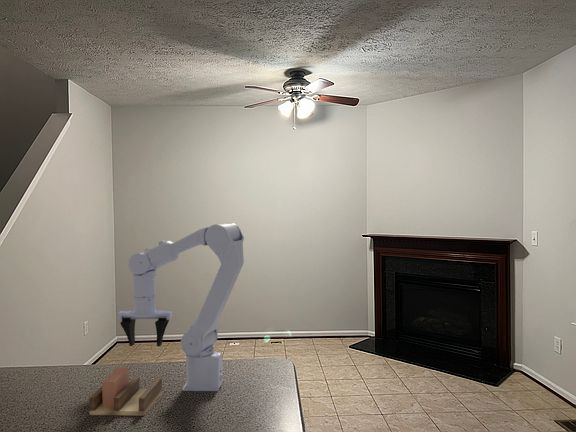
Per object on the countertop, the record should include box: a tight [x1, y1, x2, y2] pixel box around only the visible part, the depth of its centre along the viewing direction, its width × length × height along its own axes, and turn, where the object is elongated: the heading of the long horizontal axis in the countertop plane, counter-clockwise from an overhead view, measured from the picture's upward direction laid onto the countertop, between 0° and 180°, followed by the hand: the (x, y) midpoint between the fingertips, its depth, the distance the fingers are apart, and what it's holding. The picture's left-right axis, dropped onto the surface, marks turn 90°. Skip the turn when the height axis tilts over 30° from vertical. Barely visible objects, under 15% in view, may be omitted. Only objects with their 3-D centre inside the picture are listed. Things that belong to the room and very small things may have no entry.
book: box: [101, 366, 130, 407], centre depth 118 cm, size 3×10×6 cm, turn 1°
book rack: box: [88, 376, 163, 417], centre depth 118 cm, size 13×13×4 cm
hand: (145, 345), depth 133 cm, fingers open, 7 cm apart
